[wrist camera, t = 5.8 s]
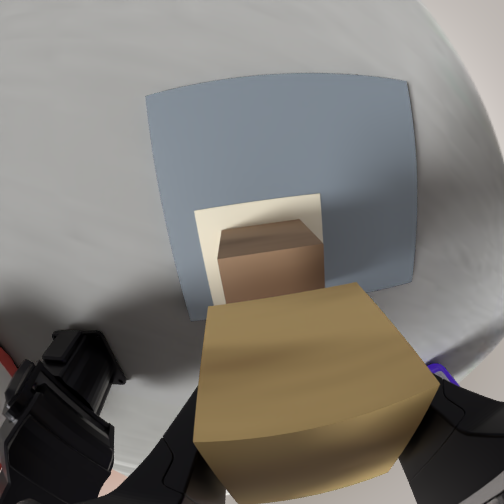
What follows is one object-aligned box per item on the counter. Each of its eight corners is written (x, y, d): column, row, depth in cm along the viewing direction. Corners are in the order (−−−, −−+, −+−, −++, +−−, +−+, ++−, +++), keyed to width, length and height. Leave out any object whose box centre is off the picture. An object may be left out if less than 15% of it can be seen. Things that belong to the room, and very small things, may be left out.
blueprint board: (405, 277, 21) (412, 282, 20) (192, 314, 20) (190, 322, 19) (399, 83, 15) (407, 81, 14) (149, 98, 15) (144, 95, 14)
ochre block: (347, 380, 10) (387, 472, 6) (234, 401, 10) (239, 505, 6) (356, 281, 9) (439, 383, 4) (207, 306, 9) (192, 441, 4)
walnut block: (304, 288, 19) (324, 329, 14) (233, 298, 19) (234, 344, 14) (299, 219, 17) (323, 243, 13) (221, 230, 17) (217, 259, 12)
